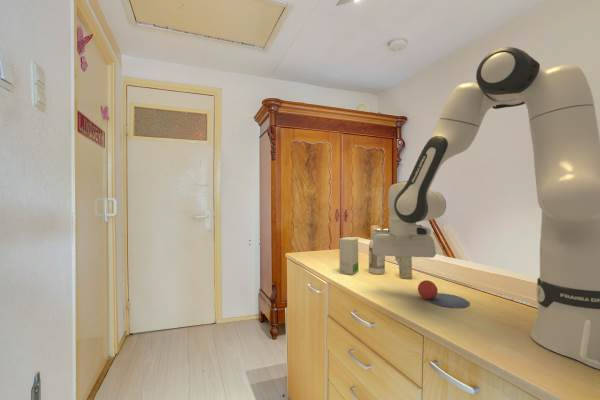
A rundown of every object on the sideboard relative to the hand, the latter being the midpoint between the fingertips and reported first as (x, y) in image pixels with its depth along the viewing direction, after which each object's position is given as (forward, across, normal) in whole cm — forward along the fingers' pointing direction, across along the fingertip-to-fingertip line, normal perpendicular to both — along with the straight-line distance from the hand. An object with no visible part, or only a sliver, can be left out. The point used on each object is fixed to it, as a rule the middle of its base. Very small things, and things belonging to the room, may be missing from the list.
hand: (403, 269), depth 95 cm
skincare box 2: (+9, +1, +25) cm, 27 cm away
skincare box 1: (+8, -23, +24) cm, 35 cm away
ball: (+6, +7, 0) cm, 10 cm away
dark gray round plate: (+10, +13, 0) cm, 16 cm away
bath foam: (+9, -11, +28) cm, 32 cm away
